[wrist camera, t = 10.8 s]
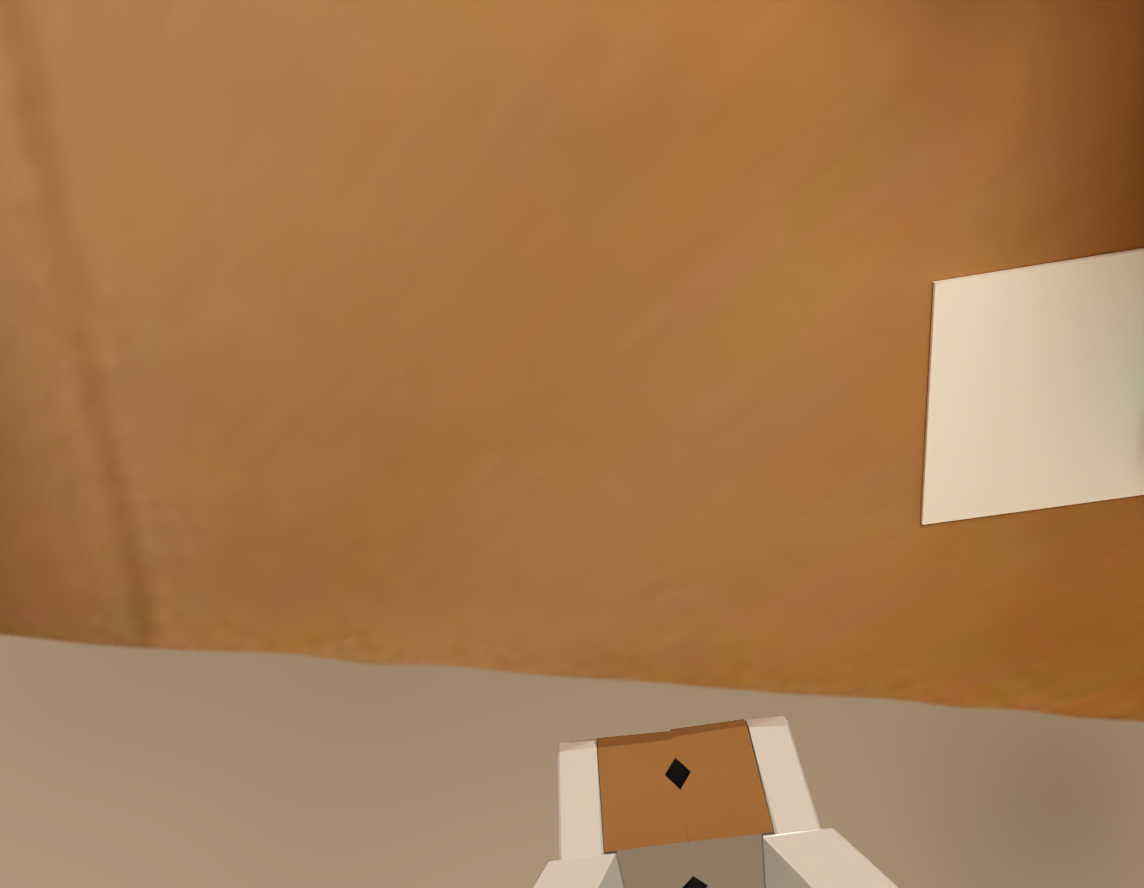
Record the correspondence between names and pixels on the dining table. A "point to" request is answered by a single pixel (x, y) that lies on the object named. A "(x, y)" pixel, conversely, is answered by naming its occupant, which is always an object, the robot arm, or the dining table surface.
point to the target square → (1035, 388)
